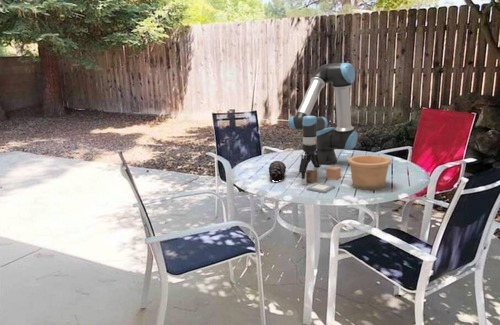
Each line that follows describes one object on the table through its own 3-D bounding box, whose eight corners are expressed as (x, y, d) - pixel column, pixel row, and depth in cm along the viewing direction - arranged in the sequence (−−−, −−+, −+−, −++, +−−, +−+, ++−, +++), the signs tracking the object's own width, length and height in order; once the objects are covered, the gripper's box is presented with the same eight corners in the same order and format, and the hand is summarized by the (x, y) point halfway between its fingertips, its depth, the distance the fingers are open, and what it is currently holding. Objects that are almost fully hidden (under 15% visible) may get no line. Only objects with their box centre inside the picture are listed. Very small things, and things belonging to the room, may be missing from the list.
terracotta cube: (326, 178, 236) (326, 168, 235) (331, 176, 241) (331, 166, 239) (335, 180, 233) (335, 169, 231) (340, 177, 237) (340, 167, 236)
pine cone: (269, 183, 232) (268, 166, 230) (268, 175, 249) (268, 159, 247) (287, 182, 232) (287, 165, 229) (285, 174, 249) (285, 158, 247)
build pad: (306, 189, 217) (306, 187, 217) (316, 184, 225) (316, 182, 225) (325, 193, 210) (325, 191, 210) (335, 187, 218) (335, 185, 218)
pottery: (365, 194, 206) (366, 166, 203) (339, 183, 226) (339, 158, 222) (398, 187, 214) (400, 160, 211) (371, 177, 234) (371, 153, 230)
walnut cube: (302, 182, 231) (302, 172, 230) (308, 179, 236) (307, 169, 234) (311, 183, 228) (311, 173, 226) (317, 181, 232) (317, 170, 231)
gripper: (303, 148, 215) (304, 187, 220) (326, 140, 233) (326, 177, 239) (291, 147, 220) (292, 185, 225) (314, 139, 238) (314, 175, 243)
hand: (309, 181), depth 232 cm, fingers open, 12 cm apart
